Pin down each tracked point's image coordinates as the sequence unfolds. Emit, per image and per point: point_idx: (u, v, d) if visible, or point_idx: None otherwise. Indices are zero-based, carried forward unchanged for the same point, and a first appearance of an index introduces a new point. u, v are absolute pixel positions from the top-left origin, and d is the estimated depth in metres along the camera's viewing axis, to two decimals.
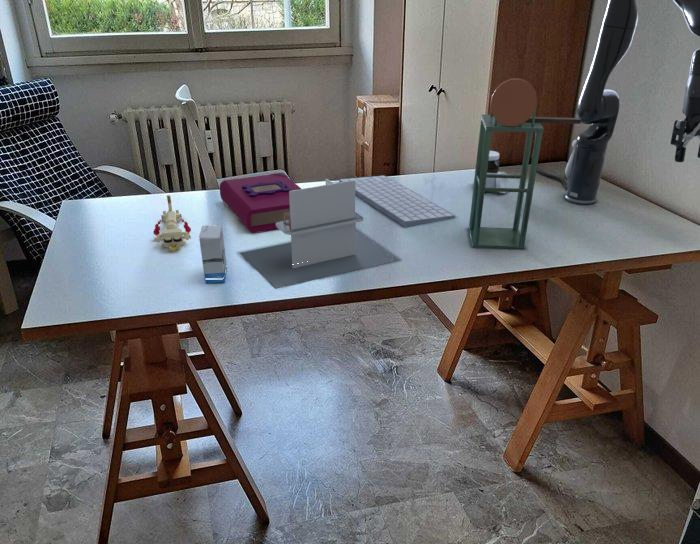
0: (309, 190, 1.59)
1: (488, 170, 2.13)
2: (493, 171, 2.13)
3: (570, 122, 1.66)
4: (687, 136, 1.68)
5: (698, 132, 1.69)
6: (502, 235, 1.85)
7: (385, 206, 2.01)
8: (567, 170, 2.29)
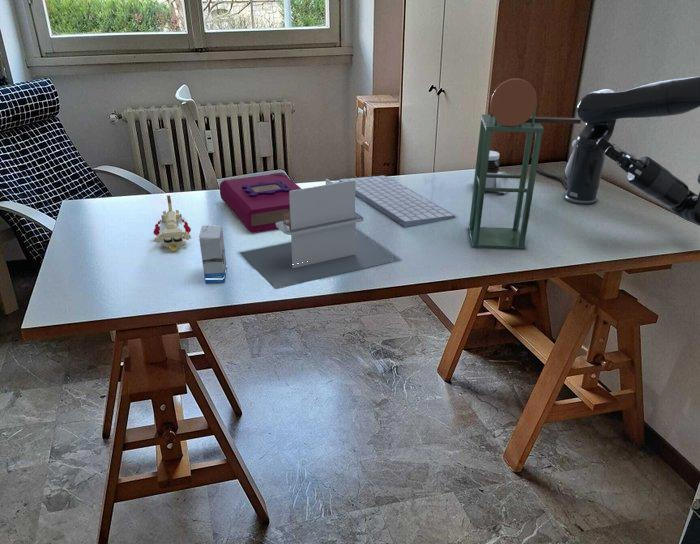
0: (309, 190, 1.59)
1: (488, 170, 2.13)
2: (493, 171, 2.13)
3: (570, 122, 1.66)
4: None
5: None
6: (502, 235, 1.85)
7: (385, 206, 2.01)
8: (567, 170, 2.29)
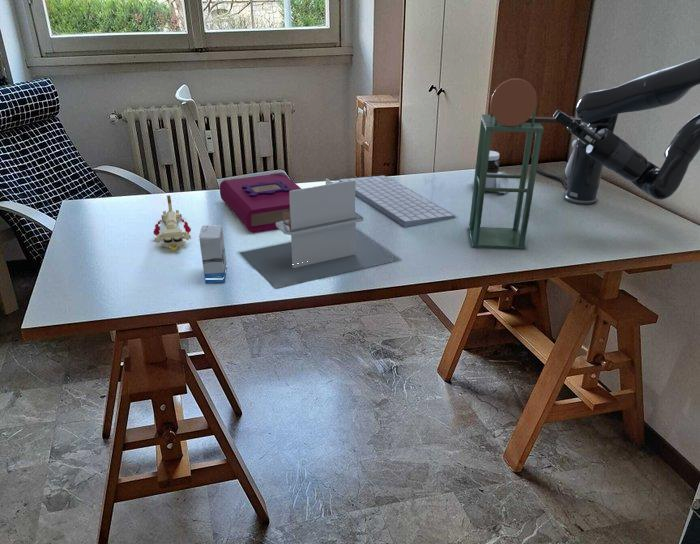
0: (309, 190, 1.59)
1: (488, 170, 2.13)
2: (493, 171, 2.13)
3: None
4: None
5: None
6: (502, 235, 1.85)
7: (385, 206, 2.01)
8: (567, 170, 2.29)
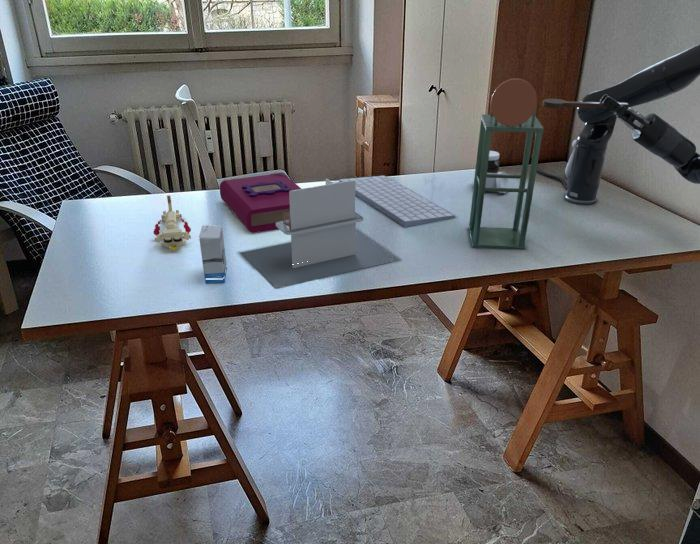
0: (309, 190, 1.59)
1: (488, 170, 2.13)
2: (493, 171, 2.13)
3: None
4: (623, 118, 1.64)
5: None
6: (502, 235, 1.85)
7: (385, 206, 2.01)
8: (567, 170, 2.29)
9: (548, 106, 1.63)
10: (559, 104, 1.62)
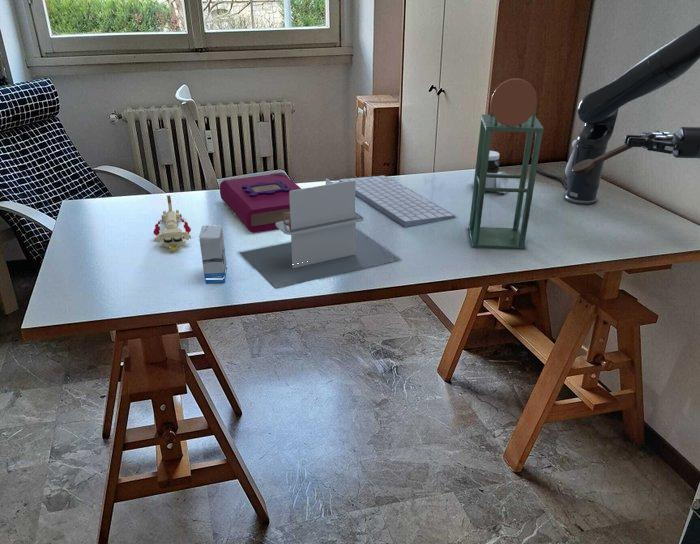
0: (309, 190, 1.59)
1: (488, 170, 2.13)
2: (493, 171, 2.13)
3: None
4: (653, 147, 1.67)
5: None
6: (502, 235, 1.85)
7: (385, 206, 2.01)
8: (567, 170, 2.29)
9: (578, 173, 1.72)
10: (587, 167, 1.70)
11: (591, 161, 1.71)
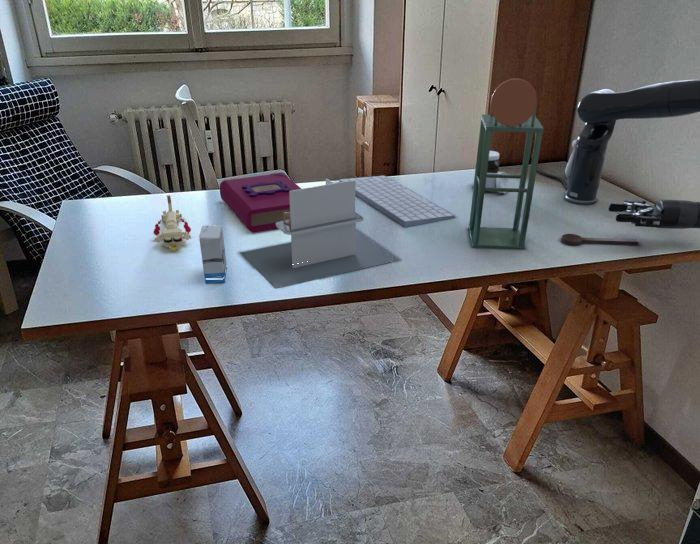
0: (309, 190, 1.59)
1: (488, 170, 2.13)
2: (493, 171, 2.13)
3: (628, 244, 1.82)
4: None
5: None
6: (502, 235, 1.85)
7: (385, 206, 2.01)
8: (567, 170, 2.29)
9: (566, 243, 1.82)
10: (576, 242, 1.81)
11: (580, 238, 1.83)
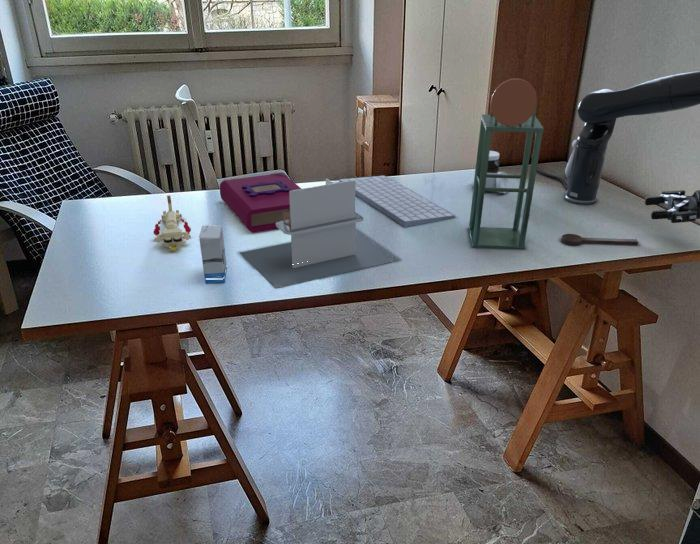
0: (309, 190, 1.59)
1: (488, 170, 2.13)
2: (493, 171, 2.13)
3: (628, 244, 1.82)
4: (676, 216, 1.74)
5: None
6: (502, 235, 1.85)
7: (385, 206, 2.01)
8: (567, 170, 2.29)
9: (566, 243, 1.82)
10: (576, 242, 1.81)
11: (580, 238, 1.83)
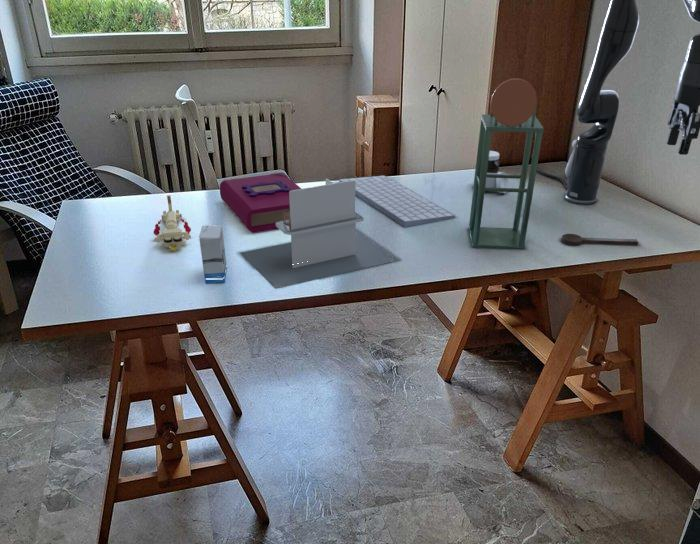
0: (309, 190, 1.59)
1: (488, 170, 2.13)
2: (493, 171, 2.13)
3: (628, 244, 1.82)
4: (693, 127, 1.62)
5: None
6: (502, 235, 1.85)
7: (385, 206, 2.01)
8: (567, 170, 2.29)
9: (566, 243, 1.82)
10: (576, 242, 1.81)
11: (580, 238, 1.83)
